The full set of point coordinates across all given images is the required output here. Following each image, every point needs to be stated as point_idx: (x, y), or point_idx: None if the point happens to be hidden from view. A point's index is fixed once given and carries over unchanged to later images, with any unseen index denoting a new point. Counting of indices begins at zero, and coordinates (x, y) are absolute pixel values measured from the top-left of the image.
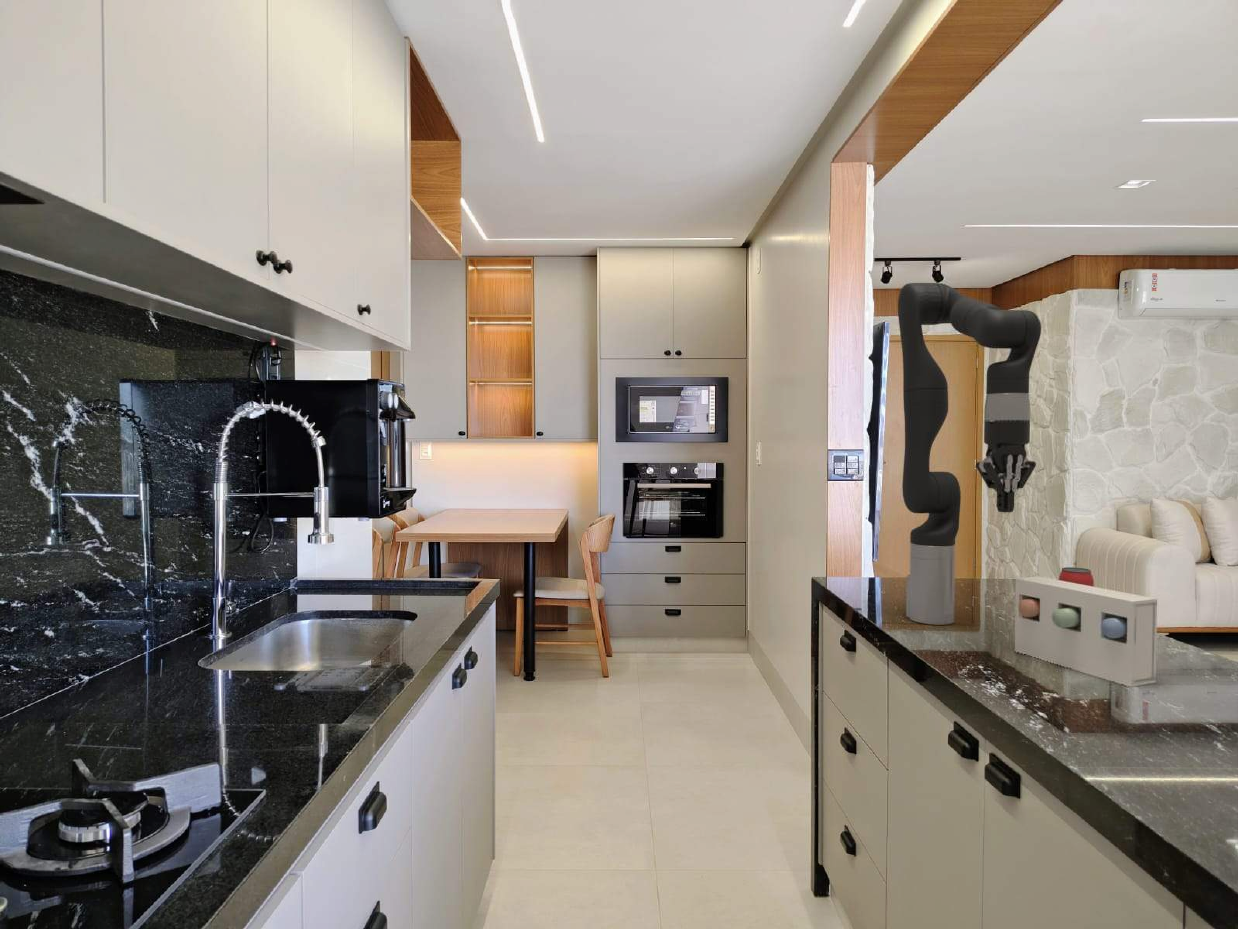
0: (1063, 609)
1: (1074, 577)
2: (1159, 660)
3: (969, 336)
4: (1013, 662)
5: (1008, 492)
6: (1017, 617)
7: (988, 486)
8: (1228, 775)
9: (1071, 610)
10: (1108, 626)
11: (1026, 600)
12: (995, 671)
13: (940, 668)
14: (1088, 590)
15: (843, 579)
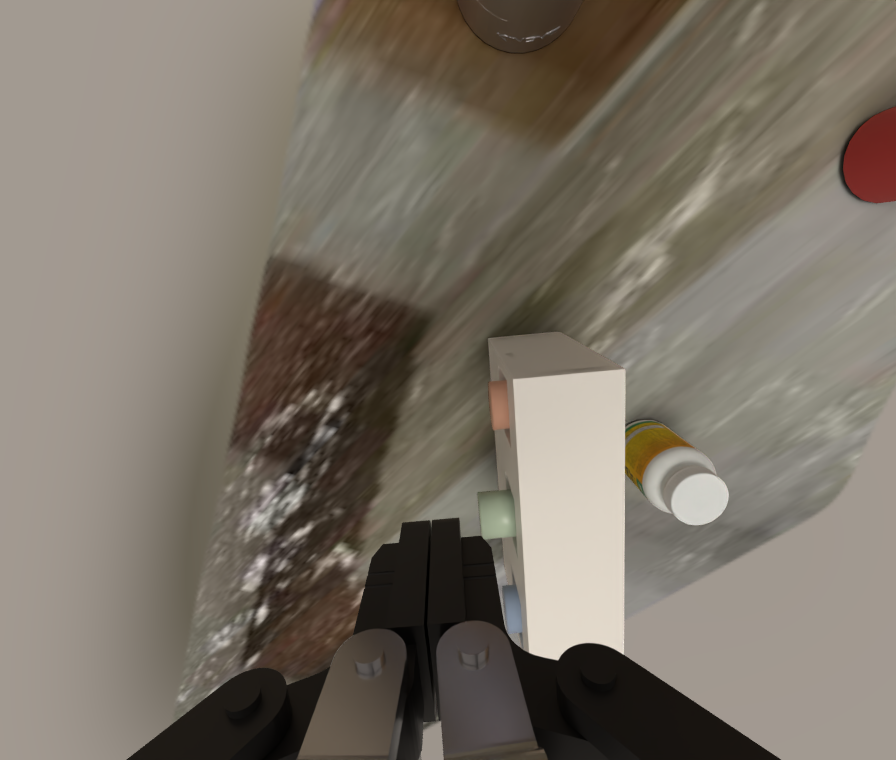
0: (489, 530)
1: None
2: (716, 468)
3: None
4: (423, 399)
5: (429, 705)
6: (497, 360)
7: (217, 702)
8: None
9: (508, 533)
10: (505, 609)
11: (493, 414)
12: (342, 436)
13: (246, 391)
14: (557, 584)
15: None
